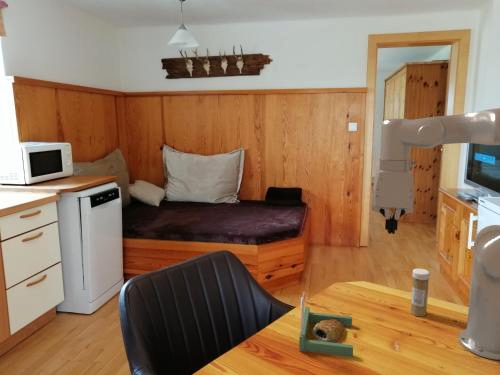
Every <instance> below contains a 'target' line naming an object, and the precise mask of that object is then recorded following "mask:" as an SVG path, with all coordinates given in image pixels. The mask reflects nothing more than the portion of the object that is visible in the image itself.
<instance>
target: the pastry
mask: <svg viewBox="0 0 500 375" xmlns="http://www.w3.org/2000/svg"><path fill="white" fill-rule="evenodd" d="M343 330H344V326H343V324H342V323H340V322H339V321H337V320H334V319H333V320H324V321H320V323H315V325H314V327H313V329H312V330H311V334H312V336H313V337H314V338H316V339H318V340H320V341H323V342H330V343H334V342H335V341H336V340H338V339H339V338H340V336H341V335H342V333H343Z"/></svg>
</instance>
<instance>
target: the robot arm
mask: <svg viewBox="0 0 500 375" xmlns="http://www.w3.org/2000/svg"><path fill="white" fill-rule="evenodd" d="M380 131H381V132H380V150H379V152H380V153H379V168H378V169H376V170H375V174H374V180H373V188H372V204H371V211H373V212H376V213H380V214H381V215H382V216H383V217H384V218H385V220H384V222H385V223H384V224H385V226H384V230H385V231H387V233H388V235H389V234H390V235H391V234H392V235H395V234H396V233H395V232H396V231H398V222H399V219H401V217H402V216H404V215H405V214H411V213H414V199H415V198H414V194H415V193H414V189H415V187H414V177H413V171H412V170H411V168H415V167H417V162H416V161H413V160H411V153H412V151H411V150H412V147H413V148H414V147H415V148H420V149H432V148H435V147H437V146H438V145H439V146H440V145H449V144H450V145H452V144H454V145H455V144H478V145H483V146H484V145H485V146H500V107H498V108H491V109H484V110H481V111H480V110H479V111H476V112H469V113H461V114H452V115H441V116H440V115H438V116H430V117H424V118H423V117H422V118H417V119H416V118H415V119H409V118H386V119H384V120H383V121H382V123H381V130H380ZM390 209H394V211H393V215H392V216H391V213H390ZM471 270H472V271H471V279H470V280H471V281H470V283H471V284H470V292H469V300H468V301H469V302H468V311H467V313H468V314H467V321H466V329H463V330H462V331H460V332H459V335H458V341H459V343H460V344H461V346H463V348H465V349H466V350H467V351H469V352H471V353H473V354H475V355H477V356H479V357H482V358H486V359H489V360H498V361H500V224H491V225H488V226H485V227H483V228H482V229H480V230H479V231H478V233H476V236H475V239H474V242H473V255H472V269H471Z"/></svg>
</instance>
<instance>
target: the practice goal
mask: <svg viewBox="0 0 500 375" xmlns="http://www.w3.org/2000/svg"><path fill="white" fill-rule="evenodd" d="M301 296H302V297H301V298H300V332H299V337H298V338H299V339H298V340H299V341H298V342H299V343H298V344H299V346H298V348H299V349H298V350H299V352H308V353H309V352H310V353H318V354H326V355H334V356H339V357H340V356H341V357H349V358H350V357H351V358H353V357H354V345H353V344H345V343H339V342H326V341H323V340H311V339H307V338H308V337H307V335H308V331H309V324H310V323H312V324H317V323H320V321H324V320H333V319H334V320H337V321H339V322H340V323H342V324H343V327H349V328H352V327H353V316H349V315H348V316H347V315H339V314H338V315H337V314H331V313H323V312H322V313H320V312H311V309H310V306H305V299H306V297H305V296H306V291H303V293H302V295H301Z"/></svg>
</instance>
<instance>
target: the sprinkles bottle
mask: <svg viewBox="0 0 500 375" xmlns="http://www.w3.org/2000/svg"><path fill="white" fill-rule="evenodd" d="M429 280H430V271H429V270H427V269H425V268H414V269H413V270H412V285H411V286H412V287H411V301H410V302H411V304H410V313H411V314H412V315H413V316H416V317H425V316H426V315H427V314H428V312H427V308H428V298H429V294H428V293H429Z"/></svg>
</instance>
